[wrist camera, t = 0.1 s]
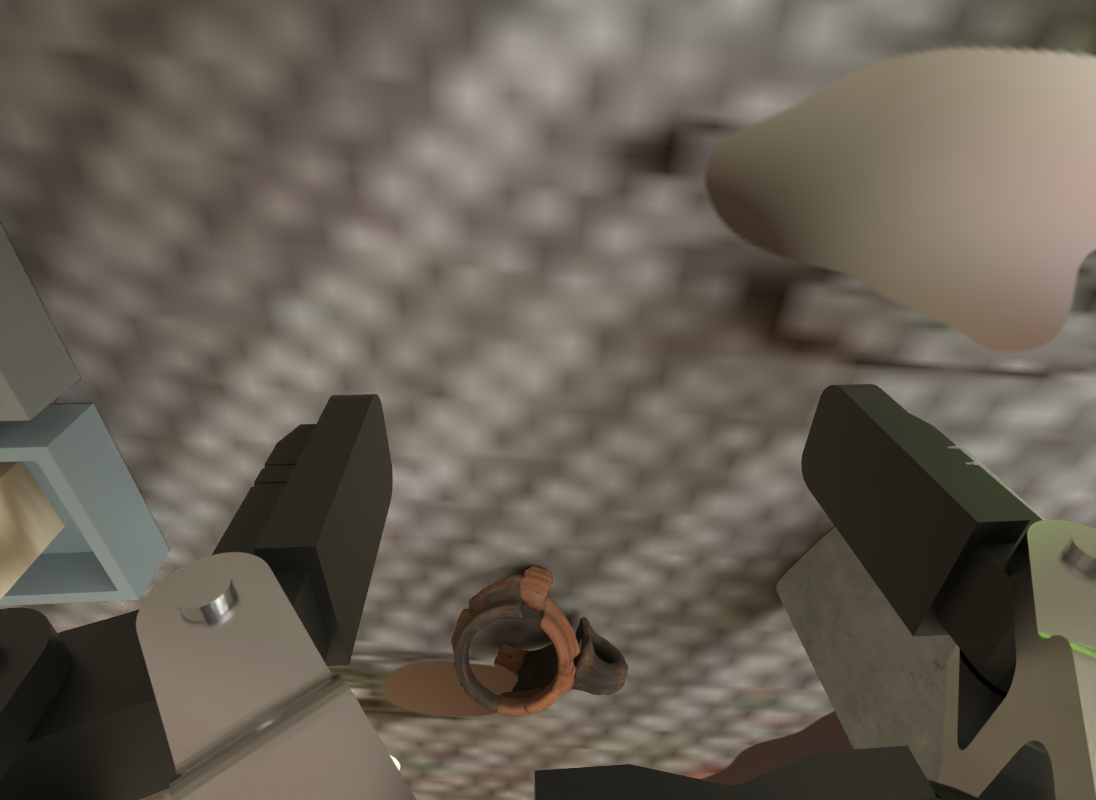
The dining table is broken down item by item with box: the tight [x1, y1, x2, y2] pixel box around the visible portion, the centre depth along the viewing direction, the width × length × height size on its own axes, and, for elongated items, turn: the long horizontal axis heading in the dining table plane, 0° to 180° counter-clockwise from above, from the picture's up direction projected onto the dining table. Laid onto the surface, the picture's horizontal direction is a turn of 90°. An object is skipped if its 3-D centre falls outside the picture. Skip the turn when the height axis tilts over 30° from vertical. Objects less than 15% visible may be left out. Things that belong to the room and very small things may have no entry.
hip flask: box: [776, 449, 1044, 782], centre depth 30 cm, size 16×4×20 cm, turn 147°
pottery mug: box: [451, 566, 628, 716], centre depth 38 cm, size 12×10×8 cm
